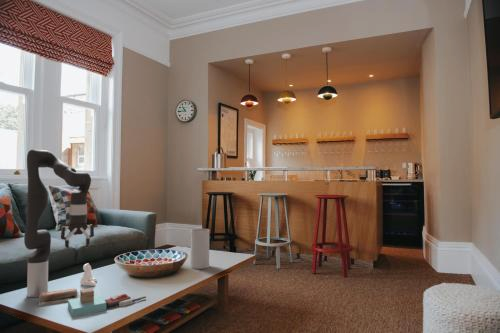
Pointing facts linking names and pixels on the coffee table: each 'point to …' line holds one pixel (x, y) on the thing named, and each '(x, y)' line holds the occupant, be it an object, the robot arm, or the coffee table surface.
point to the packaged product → (57, 296)
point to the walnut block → (87, 295)
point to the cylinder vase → (199, 248)
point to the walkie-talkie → (120, 300)
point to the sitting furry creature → (87, 276)
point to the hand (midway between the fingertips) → (77, 246)
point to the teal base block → (86, 306)
